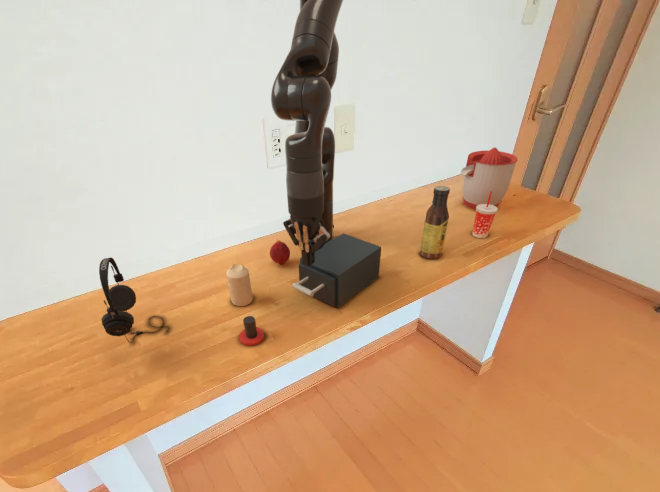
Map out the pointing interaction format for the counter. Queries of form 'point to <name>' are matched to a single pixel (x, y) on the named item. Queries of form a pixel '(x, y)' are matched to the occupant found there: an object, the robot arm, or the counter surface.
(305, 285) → the drawer
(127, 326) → the headphones
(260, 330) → the lid
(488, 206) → the beverage cup
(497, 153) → the citrus juicer
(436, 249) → the sauce bottle
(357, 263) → the cabinet
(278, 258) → the onion
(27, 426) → the counter surface
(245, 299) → the candle
